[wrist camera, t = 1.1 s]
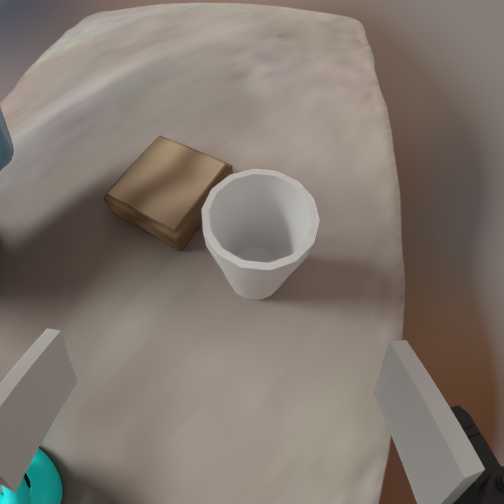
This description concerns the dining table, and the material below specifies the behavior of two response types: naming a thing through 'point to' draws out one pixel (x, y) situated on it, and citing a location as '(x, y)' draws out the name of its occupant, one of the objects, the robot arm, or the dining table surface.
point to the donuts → (36, 484)
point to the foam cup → (259, 229)
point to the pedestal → (167, 190)
